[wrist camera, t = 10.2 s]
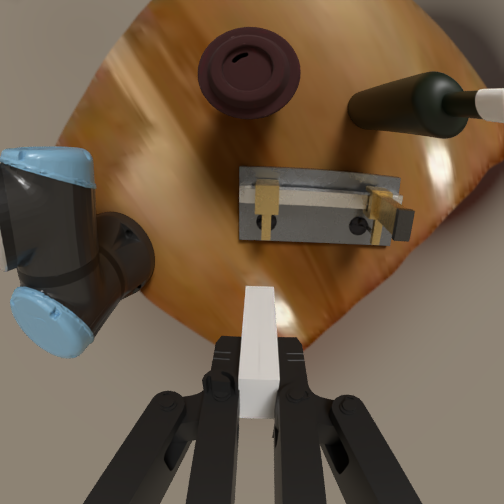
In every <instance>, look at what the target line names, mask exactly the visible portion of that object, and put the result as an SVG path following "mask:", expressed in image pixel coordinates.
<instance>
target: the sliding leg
mask: <svg viewBox="0 0 504 504" xmlns="http://www.w3.org/2000/svg"><path fill="white" fill-rule="evenodd" d="M366 191H367V192H369V193H370V197H369V205H368V209H363V214H364V215H365V216H366V217H367V218H369V219H373V226H372V228H371V227H370V226H369V225H367V226H366V229H367V230H368V232H369V233H370V234H371V238H370V243H371V245H379V243H380V237H381V232H382V226H384V227H385V228H386V229H387V230H388V231H389V232H390V233H391V234H392V239H393V240H394V241H409V239H410V234H411V229H412V224H413V219H414V213H415V211H414V210H412V209H407V208H406V207H404V206H403V205H401V204H400V203H398V202H397V201H396V200H394V199H393V193H392V192H391V191H389V190H387V189H386V188H381V187H371V186H366Z"/></svg>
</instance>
